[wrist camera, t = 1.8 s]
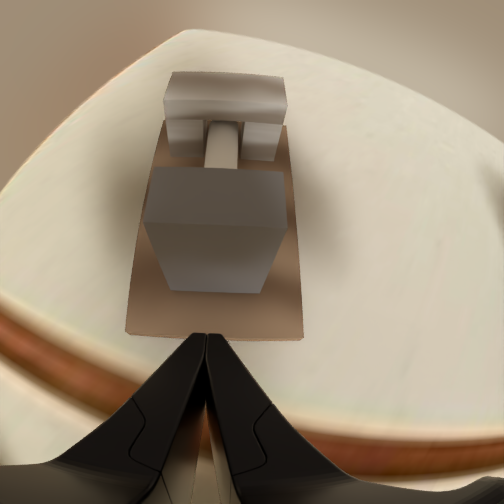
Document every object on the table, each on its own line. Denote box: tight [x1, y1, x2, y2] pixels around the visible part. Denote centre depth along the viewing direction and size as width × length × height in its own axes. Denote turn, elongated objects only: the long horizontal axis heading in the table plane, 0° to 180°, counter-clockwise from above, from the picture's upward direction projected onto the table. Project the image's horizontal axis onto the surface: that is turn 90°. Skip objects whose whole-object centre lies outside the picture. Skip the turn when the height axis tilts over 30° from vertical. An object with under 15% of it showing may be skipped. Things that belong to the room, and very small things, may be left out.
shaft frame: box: [125, 72, 304, 341], centre depth 22 cm, size 20×12×8 cm, turn 0°
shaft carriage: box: [143, 120, 288, 294], centre depth 19 cm, size 13×6×9 cm, turn 0°
